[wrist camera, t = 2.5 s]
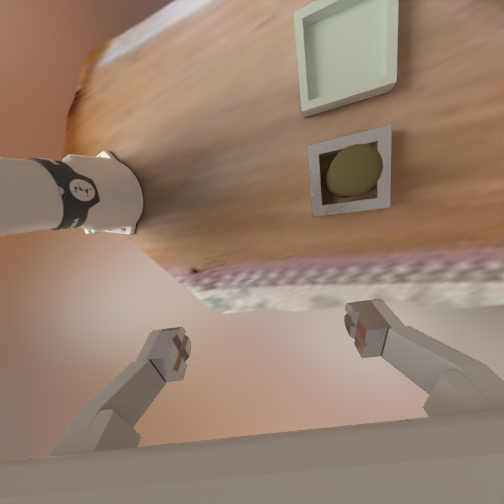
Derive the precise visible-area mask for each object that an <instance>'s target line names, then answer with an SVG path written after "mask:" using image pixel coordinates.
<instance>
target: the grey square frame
mask: <svg viewBox="0 0 504 504" xmlns="http://www.w3.org/2000/svg"><path fill="white" fill-rule="evenodd" d="M391 140H392V124H391V125H387V126H383V127H379V128H375V129H371V130H367V131H363V132H359V133H355V134H351V135H347V136H343V137H339V138H335V139H331V140H327V141H323V142H319V143H315V144H311V145H307V152H308V165H309V178H310V191H311V204H312V217H314V216H323V215H331V214H340V213H348V212H357V211H365V210H374V209H382V208H390V191H391ZM354 144H366V145H369V146H371V145H373V147H374V148H375V149H376V150H377V151H378V152H379V153H380V155H381V157H382V161H383V170H382V173H381V177H380V178H379V180H378V181H377V183H376V184H375V185H374V186H373V198H367V199H360V200H352V201H345V202H338V203H331V204H323V205H322V194H321V178H320V162H319V157H322V156H327V155H331V154H336V153H339V152H340V151H342V150H343V149H345V148H346V147H348V146H351V145H354Z"/></svg>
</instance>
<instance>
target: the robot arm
mask: <svg viewBox="0 0 504 504" xmlns="http://www.w3.org/2000/svg"><path fill="white" fill-rule="evenodd" d="M142 210H143V195H142V190H141V187H140V184H139V182H138V180H137V178H136V176H135V175H134V173H133V172H132V171H131V170H130V169H129V168H128V167H127V166H125V165H124V164H122V163H120V162H119V161H117V160H116V158H115V157H114V156H113V155H112V154H111V153H110V152H108V151H103V152H101V153H100V154H99V155H97V156H96V157H93V156H83V155H67V157H65V158H64V159H63V160H62V161H57V160H51V159H44V158H40V159H36V158H30V159H28V160H21V159H12V158H2V157H0V237H2V236H8V235H12V234H18V233H23V232H29V231H35V230H42V229H53V230H66V229H71V228H77V227H80V228H84V230H85V233H86V234H92V233H99V232H100V231H106V232H113V233H120V234H127V235H130V234H134V232H135V227H136V223H137V221H138V220H139V218H140V216H141V214H142ZM345 310H346V311H347V314H346V315H345V320H344V321H345V326H346V329H347V331H348V333H349V335H350V336H351V337H352V338H354V339H355V346H356V348H357V350H358V352H359V353H360V355H361V357H362V358H366V357H376V356H382V358H384V359H385V360H386V361H387V362H389V363H390V364H391V365H392V366H394V367H395V368H396V369H397V370H399V371H400V372H401V373H403V374H404V375H405V376H406V377H408V378H409V379H410V380H411V381H413V382H414V383H415V384H417V385H418V386H419V387H420V388H422V389H423V390H424V391H425V392H427V393H428V394H429V396H428V398H427V400H426V402H425V404H424V407H423V408H424V410H425V411H426V413H427V414H428V416H429V417H426V418H415V419H406V420H396V421H386V422H378V423H377V422H376V423H367V424H358V425H348V426H337V427H327V428H318V429H308V430H298V431H290V432H279V433H269V434H259V435H250V436H240V437H230V438H220V439H211V440H201V441H191V442H182V443H172V444H162V445H152V446H142V447H138V445H139V442H140V439H141V437H140V434H139V433H138V432H137V431H136V430H134V429H133V427H134V426H135V424H136V423H137V422H138V420H139V419H140V418H141V416H142V415H143V414H144V412H145V411H146V410H147V408H148V407H149V406H150V404H151V403H152V402H153V400H154V399H155V398H156V396H157V395H158V394H159V392H160V391H161V390H162V388H163V387H164V386H165V384H166V382H173V381H179V380H183V378H184V374H185V371H186V367H187V365H186V362H185V361H186V360H187V359H188V358H189V356H190V352H191V343H190V339H189V337H187V336H185V332H186V331H185V330H184V328H183V327H178V328H169V329H162V330H153V331H152V332H151V333H150V334H149V336H148V338H147V340H146V342H145V344H144V346H143V348H142V350H141V352H140V354H139V356H138V358H137V359H136V361H135V362H132V363H131V364H130V365H129V366H128V367H127V368H125V369H124V370H123V371H122V372H121V373H120V374H119V375H118V376H117V377H115V378H114V379H113V380H112V381H111V382H110V383H109V384H108V385H107V386H106V387H104V388H103V389H102V390H101V391H100V392H99V393H98V394H97V395H96V396H94V397H93V398H92V399H91V400H90V401H89V402H88V403H87V404H86V405H85V406H83V407H82V408H81V409H80V410H79V411H78V412H77V413H76V415H75V417H74V418H73V420H72V421H71V423H70V425H69V426H68V428H67V429H66V431H65V432H64V434H63V435H62V437H61V439H60V440H59V442H58V443H57V445H56V446H55V448H54V449H53V451H52V453H51V454H50V456H45V457H36V458H26V459H16V460H6V461H0V504H504V381H503V380H502V379H501V378H500V377H498V375H496V374H495V373H494V372H493V371H492V370H491V369H490V368H489V367H488V366H487V365H485V364H483V363H481V362H479V361H477V360H475V359H473V358H471V357H469V356H468V355H466V354H464V353H461V352H460V351H458V350H456V349H454V348H452V347H450V346H448V345H446V344H444V343H442V342H440V341H438V340H436V339H434V338H432V337H430V336H428V335H426V334H424V333H422V332H420V331H418V330H416V329H414V328H412V327H410V326H404V324H403V323H402V322H401V321H400V320H399V318H398V317H397V316H396V315H395V314H394V313H393V312H392V311H391V310H390V309H389V307H388V306H387V305H386V304H385V303H384V302H383V301H382V300H381V299H374V300H368V301H367V300H366V301H360V302H353V303H347V304H346V307H345Z"/></svg>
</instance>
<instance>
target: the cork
mask: <svg viewBox="0 0 504 504" xmlns="http://www.w3.org/2000/svg"><path fill="white" fill-rule="evenodd" d="M382 170H383V161H382V157H381V155H380V153H379V152H378V151H377V150H376V149H375V148H374V147H372V146H369V145H366V144H354V145H351V146H348V147H346V148H345V149H343V150H342V151H340V152H339V153H338V154H337V155H336V157H335V158H334V159H333V161H332V163H331V165H330V166H329V167H328V169H327V171H326V174H325V186H326V188H327V189H328V191H329V192H330V193H331V194H332V195H334V196H337V197H343V198H346V197H350V196H355V195H359V194H363V193H364V192H366V191H368V190H370V189H371V188H372V187H373V186H374V185H375V184H376V183H377V181H378V180H379V178H380V177H381V173H382Z"/></svg>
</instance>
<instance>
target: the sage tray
mask: <svg viewBox="0 0 504 504" xmlns="http://www.w3.org/2000/svg"><path fill="white" fill-rule="evenodd" d="M398 6H399V0H317V1H315V2H313V3H311V4H309V5H307V6H305V7H303V8H301V9H299V10H297V11H295V12H293V13H294V25H295V38H296V50H297V63H298V75H299V88H300V100H301V112H302V116H303V118H305V117H308V116H311V115H315V114H318V113H321V112H325V111H328V110H331V109H335V108H338V107H341V106H344V105H348V104H351V103H354V102H358V101H361V100H364V99H368V98H371V97H374V96H377V95H381V94H384V93H387V92H390V91H391V90H392V88H393V87H394V85H395V84H396V82H397V48H398Z"/></svg>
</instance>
